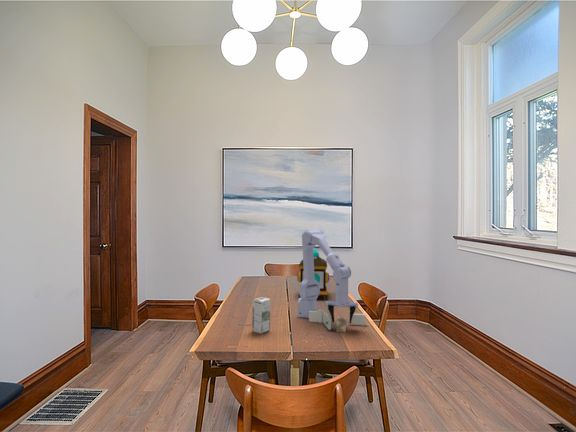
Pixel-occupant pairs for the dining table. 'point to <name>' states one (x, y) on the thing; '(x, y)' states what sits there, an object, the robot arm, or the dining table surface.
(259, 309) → the syrup box
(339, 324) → the birch block
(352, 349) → the dining table surface
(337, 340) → the dining table surface
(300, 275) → the decorative lantern
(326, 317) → the door
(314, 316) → the wall frame
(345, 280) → the robot arm
